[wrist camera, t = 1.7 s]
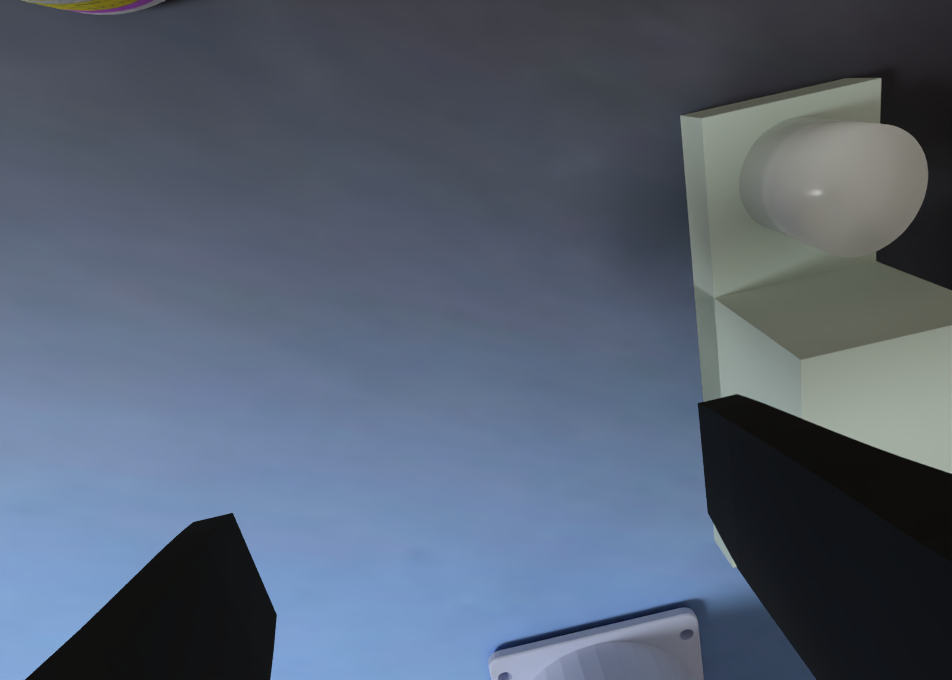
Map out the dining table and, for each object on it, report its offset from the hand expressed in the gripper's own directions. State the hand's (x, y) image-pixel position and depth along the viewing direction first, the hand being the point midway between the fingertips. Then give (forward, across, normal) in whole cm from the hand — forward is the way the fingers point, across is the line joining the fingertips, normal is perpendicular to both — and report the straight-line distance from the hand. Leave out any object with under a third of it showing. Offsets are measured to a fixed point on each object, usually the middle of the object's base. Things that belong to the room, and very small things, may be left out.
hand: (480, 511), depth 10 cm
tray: (+10, -10, +4) cm, 15 cm away
